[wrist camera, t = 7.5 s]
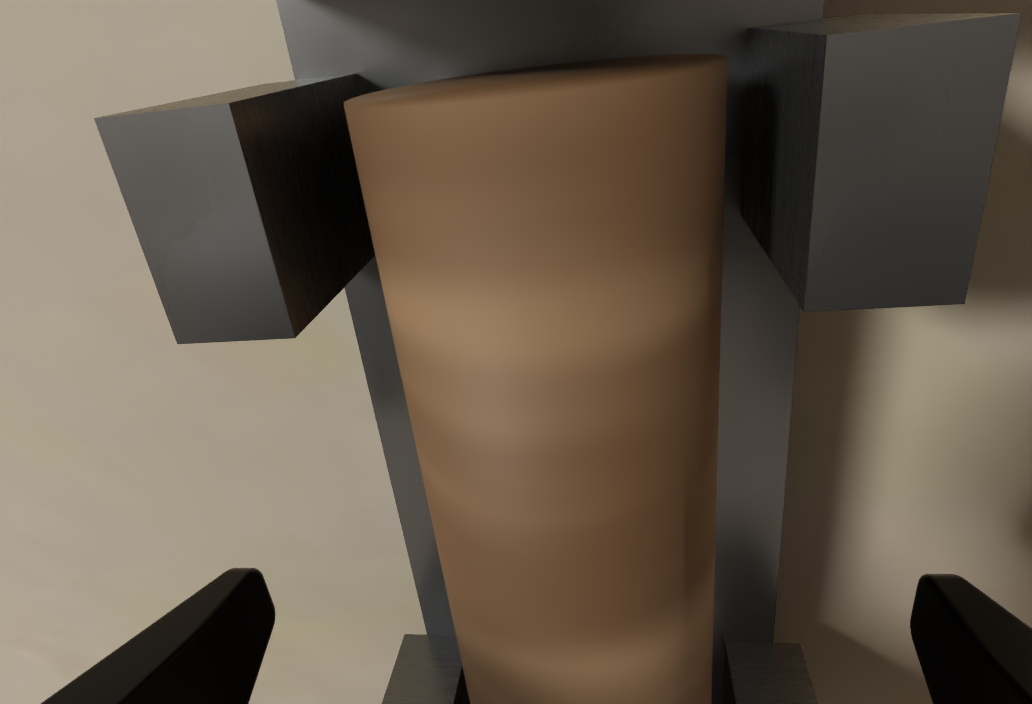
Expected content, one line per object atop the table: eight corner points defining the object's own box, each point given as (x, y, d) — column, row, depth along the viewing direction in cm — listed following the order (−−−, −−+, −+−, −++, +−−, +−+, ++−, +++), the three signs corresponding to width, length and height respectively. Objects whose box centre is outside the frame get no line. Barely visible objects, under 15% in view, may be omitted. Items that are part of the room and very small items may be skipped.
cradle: (859, -198, 8) (1103, -405, 4) (774, 747, 16) (829, 992, 12) (249, -98, 9) (-17, -181, 5) (448, 731, 17) (400, 948, 13)
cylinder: (399, 82, 9) (278, 123, 6) (696, 47, 9) (771, 68, 5) (507, 707, 15) (482, 924, 11) (692, 709, 14) (726, 938, 11)
